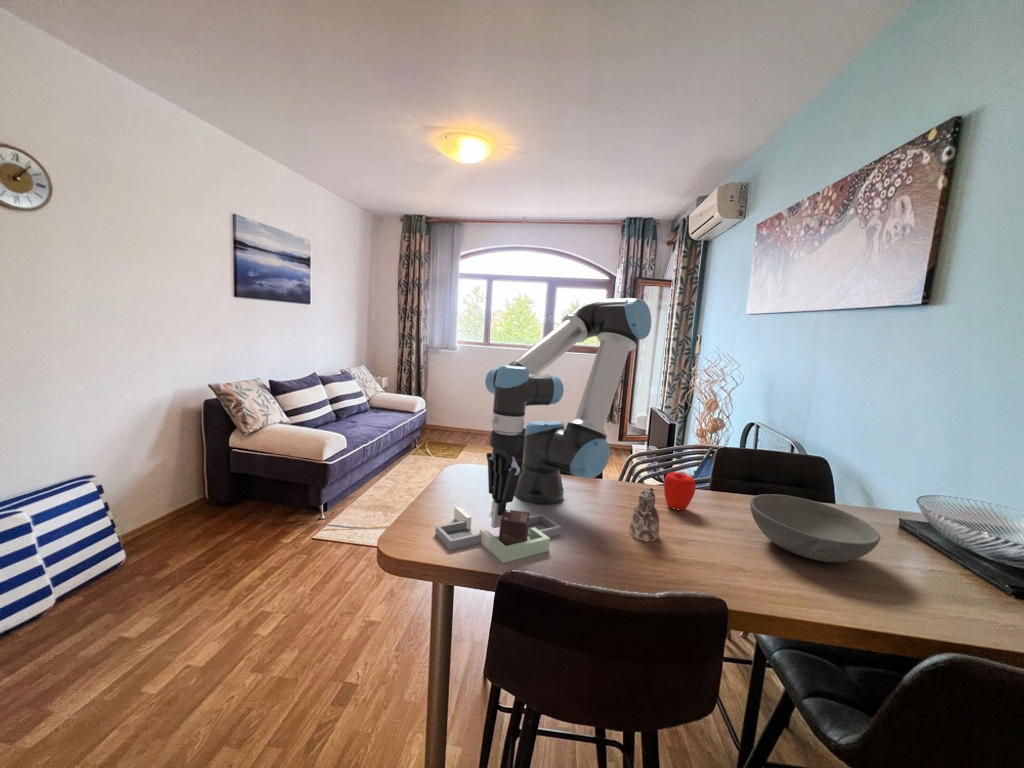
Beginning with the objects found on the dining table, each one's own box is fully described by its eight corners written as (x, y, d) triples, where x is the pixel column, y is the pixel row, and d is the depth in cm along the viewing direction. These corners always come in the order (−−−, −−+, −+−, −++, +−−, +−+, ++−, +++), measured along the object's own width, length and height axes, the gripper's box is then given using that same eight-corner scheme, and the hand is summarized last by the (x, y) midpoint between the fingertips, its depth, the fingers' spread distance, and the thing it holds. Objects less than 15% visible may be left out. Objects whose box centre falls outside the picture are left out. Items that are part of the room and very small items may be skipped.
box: (524, 554, 93) (527, 523, 92) (497, 550, 93) (500, 519, 93) (527, 541, 99) (530, 512, 98) (502, 537, 99) (504, 508, 99)
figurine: (624, 533, 107) (629, 488, 106) (637, 526, 112) (642, 483, 111) (650, 544, 102) (656, 497, 101) (662, 536, 108) (668, 491, 106)
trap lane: (518, 506, 119) (519, 496, 119) (574, 543, 100) (575, 531, 99) (425, 523, 104) (426, 512, 104) (470, 572, 84) (471, 558, 84)
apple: (694, 507, 129) (698, 473, 128) (689, 516, 122) (694, 480, 121) (664, 500, 134) (668, 467, 133) (658, 508, 126) (662, 473, 125)
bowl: (844, 541, 113) (850, 505, 112) (897, 594, 89) (905, 549, 87) (737, 520, 122) (741, 487, 121) (757, 564, 97) (763, 522, 96)
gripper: (480, 425, 102) (471, 517, 104) (507, 439, 91) (497, 541, 94) (506, 424, 106) (497, 513, 109) (535, 437, 95) (524, 535, 98)
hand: (497, 526), depth 101 cm, fingers closed
